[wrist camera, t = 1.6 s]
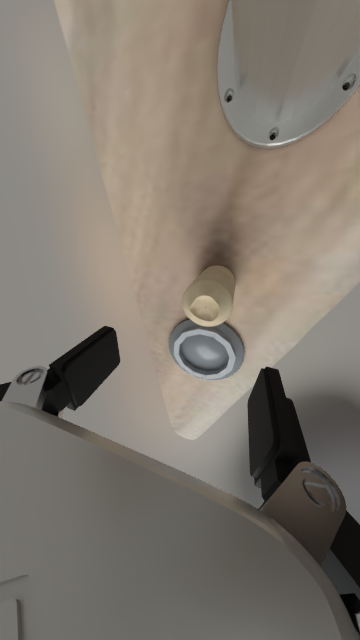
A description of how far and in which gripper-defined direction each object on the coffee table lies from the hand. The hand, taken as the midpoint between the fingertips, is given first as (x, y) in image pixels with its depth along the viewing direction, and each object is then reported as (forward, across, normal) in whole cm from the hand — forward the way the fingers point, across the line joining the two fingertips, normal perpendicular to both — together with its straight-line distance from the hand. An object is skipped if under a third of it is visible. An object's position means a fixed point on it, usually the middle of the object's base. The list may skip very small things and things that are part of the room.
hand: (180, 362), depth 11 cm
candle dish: (+18, 0, +13) cm, 22 cm away
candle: (+18, 0, 0) cm, 18 cm away
